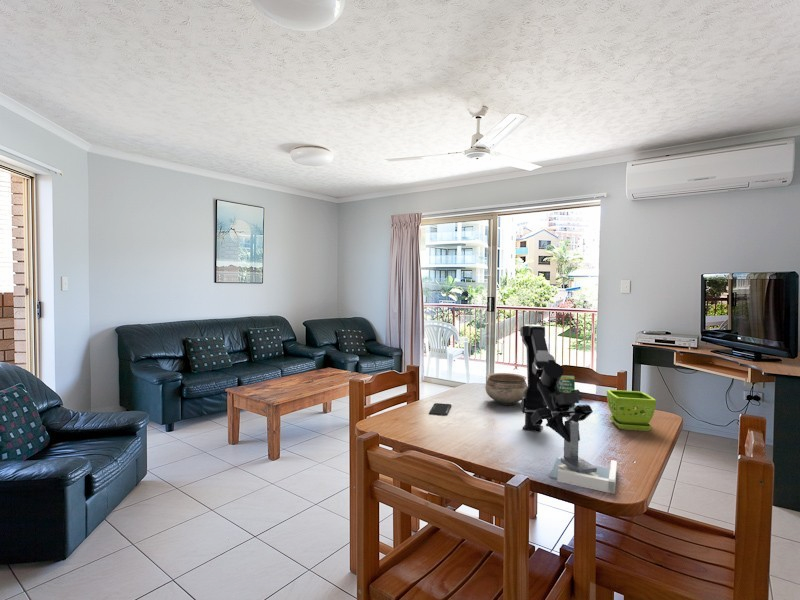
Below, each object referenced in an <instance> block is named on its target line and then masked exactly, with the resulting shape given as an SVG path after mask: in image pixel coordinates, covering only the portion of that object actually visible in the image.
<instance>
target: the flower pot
mask: <svg viewBox="0 0 800 600" xmlns="http://www.w3.org/2000/svg"><path fill="white" fill-rule="evenodd" d="M606 399H607V400H606V401H607V405H608V408H609V410H610V413H611V415H608V416H609V418H610V421H612V422H613V423H614V425H615V426H616V427H617V428H619V430H627V431H637V430H639V431H640V432H648V431H651V430H652V428H653V426H652V424H650V422H651V421H652V419H653V417H654V413H655V411H656V406H657V405H656V404H657V400H656V399H655V398H654V397H652V396H650V395H649V394H648V393H645V392H644V391H635V390H619V389H607V390H606ZM635 408H636V409H635Z"/></svg>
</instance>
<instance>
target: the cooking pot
mask: <svg viewBox="0 0 800 600" xmlns="http://www.w3.org/2000/svg"><path fill="white" fill-rule="evenodd" d="M486 376H487V380H486V383H485V391H486V392H485V393H486V394H487V395H488V397H490V398H491V399H492V400H493V401H496V403H498V404H500V405H504V406H512V405H515V404H517V403H519V402H521V401H522V397H524V391H525V390H526V388H527V386H528V383H527V381H526V380H527V376H525V375H522V374H516V373H510V372H495V373H494V372H493V373H489V374H487V375H486Z"/></svg>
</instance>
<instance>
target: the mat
mask: <svg viewBox="0 0 800 600" xmlns="http://www.w3.org/2000/svg"><path fill="white" fill-rule="evenodd" d="M592 465H593V464H592ZM593 466H595V467H597V472H592V473H585V474H587V475H592V476H597V477H602V478H607V479H609V473H610V467H603V466H599V465H598V466H597V465H593ZM558 469H562V470H567V471H572V472H576V471H574V470H573V469H571V468H569V467H568V466H566V465H565V464H563V463H562V462H561V458H556V459H555V462H554V464H553V466H552V468H551V471H550V473H549V475H548V478H551V479H554V480H558Z"/></svg>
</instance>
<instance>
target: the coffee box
mask: <svg viewBox="0 0 800 600" xmlns="http://www.w3.org/2000/svg"><path fill="white" fill-rule="evenodd" d="M575 383H576V382H575V375H562V378H561V380H560V383H559V385H557V386H558V388H559V390H560V392H564V393H570V392H571V391H573V390H576V389H575V388H576V387H575V386H576V385H575ZM575 404H576V403H574V404H572V405H573V406H575Z"/></svg>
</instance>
